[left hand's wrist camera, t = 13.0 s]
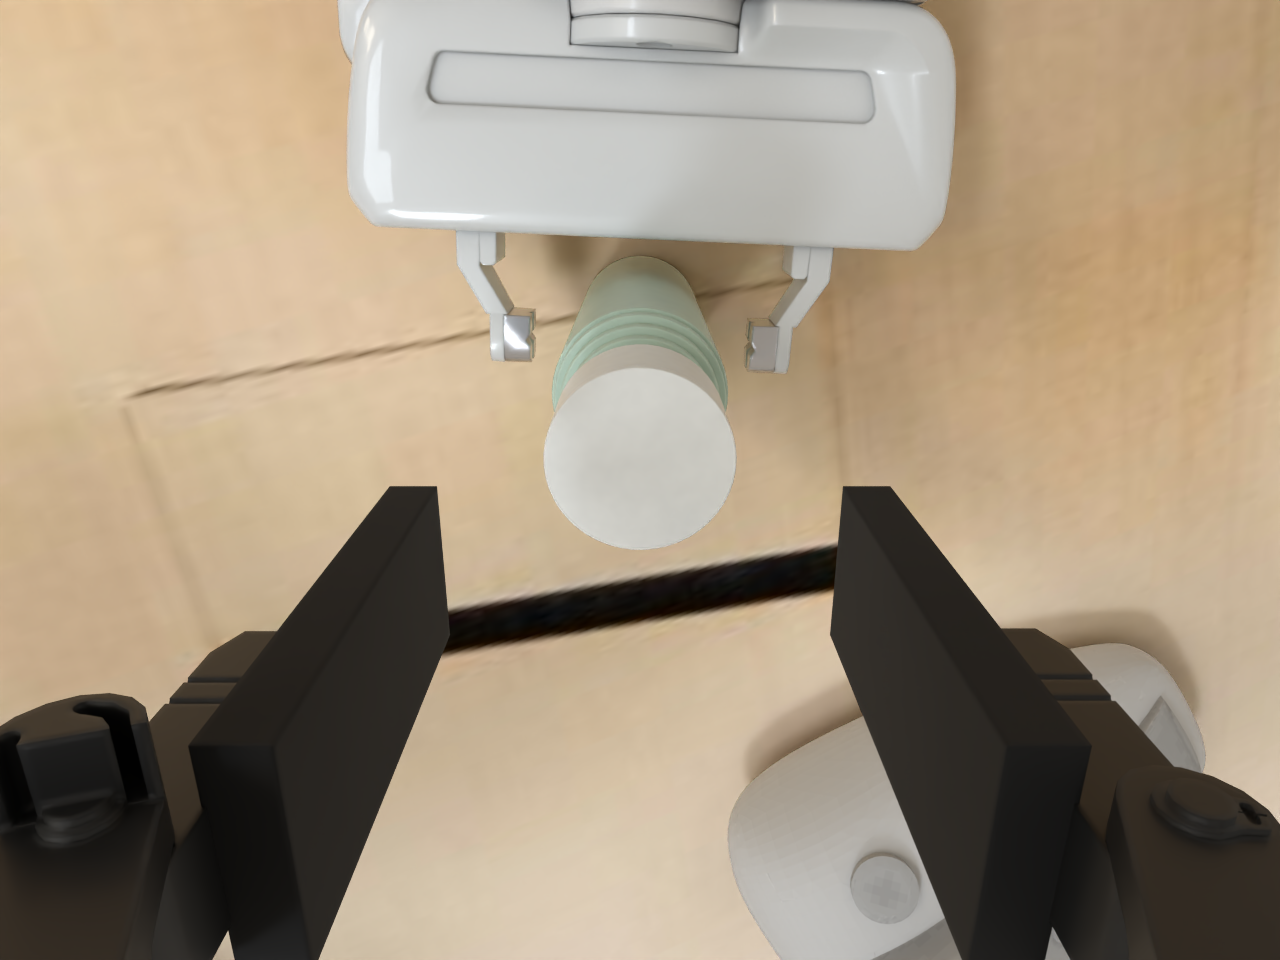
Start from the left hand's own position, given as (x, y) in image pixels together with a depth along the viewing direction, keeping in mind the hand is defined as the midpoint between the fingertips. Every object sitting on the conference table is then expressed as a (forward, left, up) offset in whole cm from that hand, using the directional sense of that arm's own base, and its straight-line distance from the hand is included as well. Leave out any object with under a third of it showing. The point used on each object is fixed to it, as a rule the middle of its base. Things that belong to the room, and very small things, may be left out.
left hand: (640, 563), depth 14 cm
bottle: (0, 0, -25) cm, 25 cm away
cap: (0, 0, -5) cm, 5 cm away
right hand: (-1, 0, -19) cm, 19 cm away
